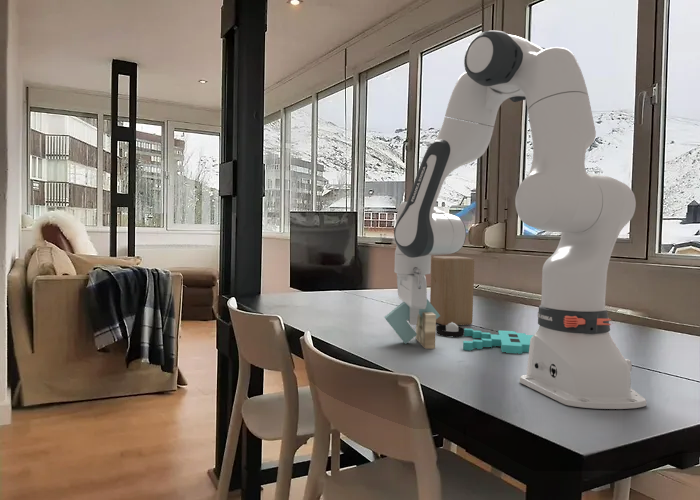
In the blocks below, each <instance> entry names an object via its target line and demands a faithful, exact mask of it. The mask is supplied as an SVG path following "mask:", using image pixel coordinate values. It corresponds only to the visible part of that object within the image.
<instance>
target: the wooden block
mask: <svg viewBox="0 0 700 500" xmlns="http://www.w3.org/2000/svg"><path fill="white" fill-rule="evenodd" d="M474 277H475V259H474V258H472V257H466V256H459V255H458V256H456V255H455V256H451V255H448V256H447V255H446V256H445V255H443V256H442V255H433V256H431V273H430V295H429V297H430V298H429V299H430V300H429V302H430V303H431V304H432V306H433V307H434V308H435V310H436V311H437V312H438V313H439V315H440V317H438V318H437V319H436V324H438V325H448V324H449V323H451V322H453V323H455V324H456V325H457V326H470V325H472V324H473V318H474V317H473V316H474V315H473V314H474V313H473V310H474V287H475V286H474V283H475V281H474V280H475V278H474Z"/></svg>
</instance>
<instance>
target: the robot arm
mask: <svg viewBox="0 0 700 500" xmlns="http://www.w3.org/2000/svg"><path fill="white" fill-rule="evenodd" d="M463 63H464V64H463V66H464V70H465V72H463V73H462V74H461V75H460V76H458V79H457V81H456V83H455V85H454V87H453V89H452V92H451V95H450V98H449V101H448V104H447V108H446V111H445V115H444V119H443V122H442V126H441V128H440V130H439V133H438V135H437V136H436V137H435V140H434V141H433V142H432V143H430V145H429V146H428V148H427V149H426V152H425V153H424V155H423V158H422V161H421V163H420V166H419V168H418V171H417V174H416V176H415V180H414V182H413V185H412V188H411V190H410V193H409V196H408V199H407V200H405V201H403V202H402V203H400V205H399V206H398V209H397V214H396V219H395V225H394V231H393V238H394V242H395V244H396V247H395V250H394V270H393V272H394V273H395V274H396V285H397V295H398V298H399V300H401V301H402V302H405V303H406V304H407V305H408V306H409V307H410V309H409V310H410V317H409V319H408V320H407V322H408V324H409V325H410V326H416V325H417V318H418V314H419V309H425V308H426V305H427V299H428V291H427V289H428V286H427V284H428V283H427V278H426V275H431V259H432V256H442V255H443V256H445V255H451V254H454V253H457V252H459V251H460V250H461V249H462V248H463V247H464V245H465V242H466V240H467V239H466V238H467V229H466V225H465V223H464V221H463V220H462V219H461V218H460V217H459V216H457V215H454V214H451V213H448V212H447V211H444V210H441V209H439V208H437V207H436V203H437V201H438V198H439V195H440V193H441V190H442V187H443V184H444V183H445V180H446V179H447V177H448V176H449V175H450V174H451V173H452V172H453V171H455V170H456V169H458V168H460V167H462V166H465V165H468V164H469V163H470V164H471V163H472V162H474V161H476V160H478V159H479V158H481V157H482V156H483V155H484V154H485V153H486V151H487V149H488V147H489V145H490V142H491V139H492V136H493V133H494V129H495V125H496V124H495V123H496V120H497V114H498V111H499V109H500V107H501V105H502V103H504V102H505V101H507V100H508V99H509V100H510V101H511V102H513V103H517V102H521V101H526V106H527V107H526V108H527V114H528V120H529V125H530V131H531V139H532V147H533V149H532V151H533V153H532V162H531V166H530V170H529V173H528V175H527V176H526V177H525V178H524V179H523V180H522V181H521V182H520V184H519V186H518V188H517V190H516V193H515V194H516V195H515V200H514V202H515V203H514V204H515V205H514V206H515V210H516V213H517V216H518V217H519V219H520V221H522V223H523V224H525V225H526V226H528V227H532V228H534V229H537V230H540V231H544V232H547V233H561V236H560V238H559V239H560V240H559V243H558V245H557V248H556V249H555V251H554V252H553V253H552V255H550V257H548V258H547V259H546V260H545V261H544V263H543V265H542V268H541V269H542V271H541V272H542V275H541V299H540V300H541V301H540V305H539V306H538V312H537V324H538V325H539V327H538V329H537V330H536V332H535V334H533V335H534V336H533V337H532V338H531V340H530V347H529V352H528V358H527V368H526V374H523V375H520V376H519V383H520V384H521V385H524V386H525V387H526V386H527V387H528V388H529V389H532V390H534V391H536V392H538V393H540V394H542V395H544V396H546V397H549V398H551V399H553V400H555V401H556V402H559V403H560V404H562V405H566V406H569V407H576V408H584V409H585V408H586V409H596V410H597V409H598V410H599V409H600V410H601V409H602V410H603V409H604V410H606V409H607V410H608V409H609V410H615V409H616V410H623V409H625V410H626V409H637V408H643V407H646V406H647V399H646V398H644V396H642V395H641V394H639V393H638V392H637V391H635V390H634V389H633V388H632V386H631V384H632V381H631V380H632V379H631V375H632V374H631V372H632V369H633V364H632V361H631V360H630V359H629V358H627V359H626V358H625V357H624V356H623V354H622V352H621V351H620V349H619V347H618V346H617V344H616V343H615V341H614V340H613V338H612V336H611V334H610V331H611V327H610V326H611V325H612V323H610V321H612V319H611V318H609V315H608V310H607V309H606V296H607V294H606V292H607V279H608V270H609V263H610V261H611V257H612V253H613V251H614V248H615V245H616V242H617V240H618V237H619V236H620V234H621V232H622V230H623V228H625V227H626V226H627V225H628V223H630V221H631V220H632V219H633V217H634V215H635V211H636V206H637V202H636V196H635V193H634V192H633V190H632V189H631V187H630V186H629V185H628V184H626V183H624V182H622V181H620V180H618V179H616V178H613V177H611V176H608V175H602V174H594V173H593V174H592V173H591V174H590V173H588V172H587V171H586V166H585V161H586V160H585V159H586V152H587V149H589V148H590V147H591V146H592V145H593V143H594V141H595V139H596V137H597V136H596V135H597V134H596V133H597V132H596V127H595V121H594V116H593V111H592V107H591V102H590V95H589V92H588V88H587V85H586V84H587V83H586V81H585V78H584V77H585V76H584V74H583V72H582V69H581V67H580V64H579V62H578V60H577V58H576V56H575V54H574V53H573V52H572V51H571V50H569V49H568V48H566V47H561V46H560V47H559V46H555V47H554V46H553V47H549V48H545V47H542V46H539V45H537V44H535V43H533V42H531V41H529V40H528V39H526V38H523V37H521V36H517V35H514V34H510V33H509V34H508V33H506V32H505V31H502V30H485V31H482V32H480V33H478V34H477V35H475V36H474V37H473V39H472V40H471V41H470V42H469V44H468V46H467V48H466V50H465V54H464V60H463Z"/></svg>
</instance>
